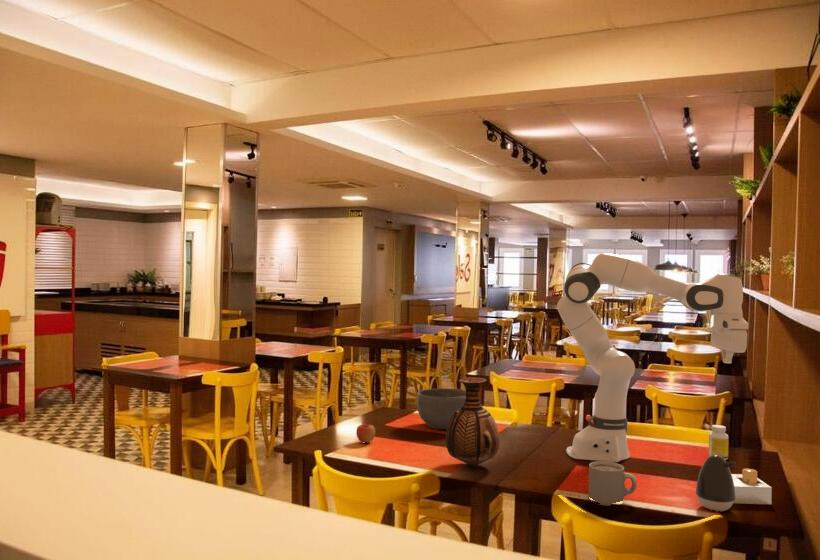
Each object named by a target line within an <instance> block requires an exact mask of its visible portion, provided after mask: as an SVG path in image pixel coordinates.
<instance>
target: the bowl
mask: <svg viewBox="0 0 820 560" xmlns="http://www.w3.org/2000/svg"><path fill="white" fill-rule="evenodd" d="M415 395H416V396H415V405H416V410H417V412H418V414H419V417H420V419H421V420H422V421H423V422H424V423H425V424H426V426H428V427H430V428H432V429H434V430H447V427H448V424H449V421H450V419H451V417H452V415H453V414H454V412H455V411H457V410H458V409H460V408H461V407H463V405H464V403H465V398H466V390H464V389H460V388H441V387H440V388H429V389H421V390H419V391H417V392H416V394H415Z"/></svg>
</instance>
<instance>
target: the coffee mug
mask: <svg viewBox="0 0 820 560" xmlns="http://www.w3.org/2000/svg"><path fill="white" fill-rule="evenodd" d="M626 479H630V480H631V487H630V488H627V487H626V485H625V481H626ZM637 487H638V485H637V478H636V477H635V475H633V474H632V473H629V472H625V466H624V465H622V464H619V463H618V462H609V461H591V462H590V463H589V464H588V498H589V497H590V498H592V499H593V500H595V501H597V502H598V503H600V504H599V505H601V506H608V507H611V506H610V505H611V504H612V503H616V502H620V501H623V499H625V496H628V495H631V494H633V493H635V491H636V490H637Z"/></svg>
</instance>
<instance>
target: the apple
mask: <svg viewBox="0 0 820 560" xmlns="http://www.w3.org/2000/svg"><path fill="white" fill-rule="evenodd" d="M375 435H376V428H375V426H374V425H372V424H364V422H362V424H361V425H358V426H357V427H356V437H357V439H358V440H359V442H361V443H362V442H367V443H368V442H370V441H371V442H373V440H374V438H375ZM371 442H370V443H371Z"/></svg>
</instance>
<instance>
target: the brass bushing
mask: <svg viewBox="0 0 820 560" xmlns="http://www.w3.org/2000/svg"><path fill="white" fill-rule="evenodd" d="M741 471H742V473H741V474H742V482H743V483H756V484H757V478H758V471H757V469H753V468H743V469H741Z"/></svg>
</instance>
